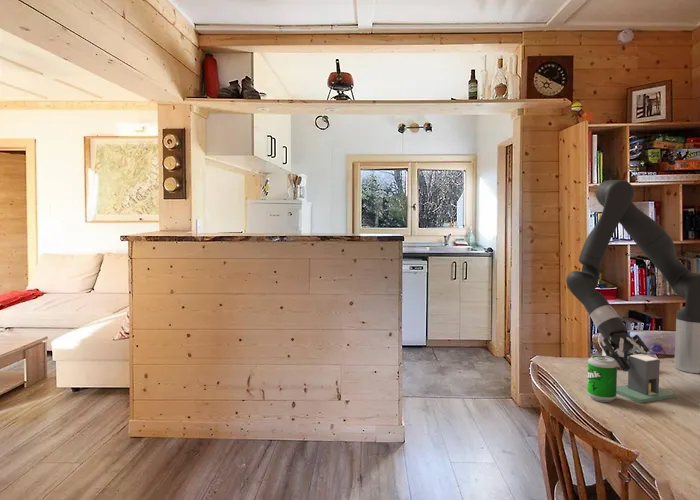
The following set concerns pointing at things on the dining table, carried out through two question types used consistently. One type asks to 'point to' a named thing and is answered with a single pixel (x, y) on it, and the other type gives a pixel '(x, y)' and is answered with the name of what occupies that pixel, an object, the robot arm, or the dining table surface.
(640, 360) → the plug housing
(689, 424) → the dining table surface
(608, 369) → the soda can
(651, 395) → the board
